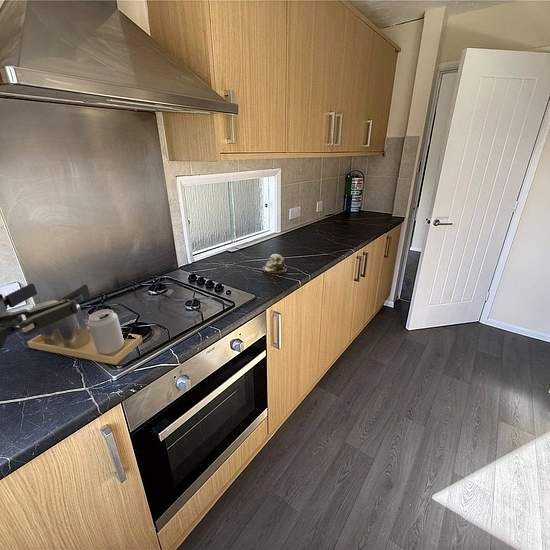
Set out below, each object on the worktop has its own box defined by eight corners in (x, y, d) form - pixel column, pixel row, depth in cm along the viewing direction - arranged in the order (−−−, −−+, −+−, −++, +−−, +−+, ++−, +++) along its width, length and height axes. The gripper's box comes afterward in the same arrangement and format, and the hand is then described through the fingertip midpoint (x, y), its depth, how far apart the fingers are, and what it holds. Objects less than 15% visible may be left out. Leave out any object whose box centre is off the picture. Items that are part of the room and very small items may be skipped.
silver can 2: (58, 347, 89) (45, 313, 84) (78, 334, 95) (67, 302, 90) (76, 351, 87) (63, 316, 82) (95, 337, 93) (84, 304, 88)
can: (110, 359, 83) (99, 323, 78) (91, 353, 85) (79, 318, 81) (131, 343, 89) (121, 309, 85) (112, 339, 92) (102, 305, 87)
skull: (272, 275, 133) (263, 255, 135) (264, 283, 142) (255, 264, 144) (293, 268, 139) (284, 249, 141) (284, 276, 148) (276, 258, 150)
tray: (29, 348, 89) (26, 342, 88) (63, 328, 99) (60, 322, 98) (116, 366, 81) (113, 358, 80) (143, 342, 91) (141, 335, 90)
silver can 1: (38, 343, 91) (24, 310, 86) (59, 331, 97) (47, 299, 92) (56, 347, 89) (42, 313, 84) (76, 334, 95) (64, 301, 90)
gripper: (-89, 359, 52) (18, 301, 72) (38, 366, 50) (113, 304, 69) (-112, 323, 49) (6, 273, 69) (22, 329, 47) (105, 275, 66)
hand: (60, 289), depth 69 cm, fingers open, 13 cm apart
